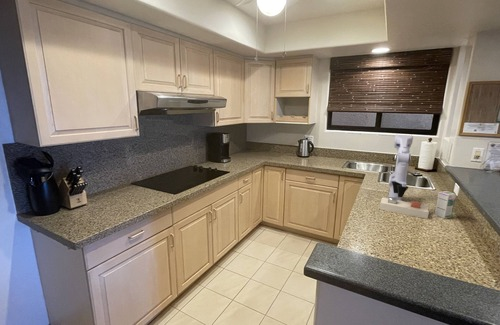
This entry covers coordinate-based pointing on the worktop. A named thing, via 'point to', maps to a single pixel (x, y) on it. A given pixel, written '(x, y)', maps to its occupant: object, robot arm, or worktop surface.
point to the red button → (415, 204)
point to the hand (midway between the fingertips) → (397, 195)
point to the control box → (404, 208)
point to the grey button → (392, 200)
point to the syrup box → (445, 204)
